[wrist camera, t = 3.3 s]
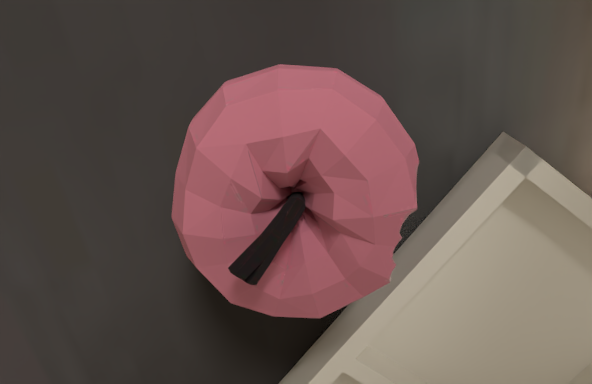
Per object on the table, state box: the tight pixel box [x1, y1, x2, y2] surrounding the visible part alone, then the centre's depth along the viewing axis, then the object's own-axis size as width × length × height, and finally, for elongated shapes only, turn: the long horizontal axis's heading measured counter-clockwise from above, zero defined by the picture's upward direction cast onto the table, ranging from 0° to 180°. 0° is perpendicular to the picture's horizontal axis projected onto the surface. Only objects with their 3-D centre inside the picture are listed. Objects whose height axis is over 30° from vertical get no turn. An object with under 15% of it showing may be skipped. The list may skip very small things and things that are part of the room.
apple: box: [172, 64, 419, 318], centre depth 19 cm, size 10×9×10 cm
